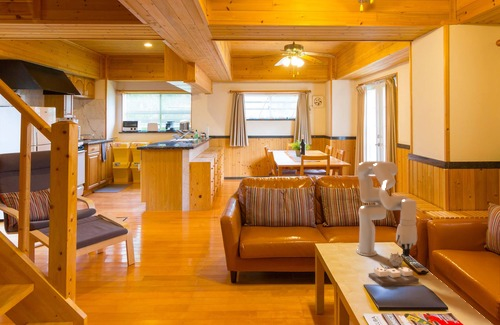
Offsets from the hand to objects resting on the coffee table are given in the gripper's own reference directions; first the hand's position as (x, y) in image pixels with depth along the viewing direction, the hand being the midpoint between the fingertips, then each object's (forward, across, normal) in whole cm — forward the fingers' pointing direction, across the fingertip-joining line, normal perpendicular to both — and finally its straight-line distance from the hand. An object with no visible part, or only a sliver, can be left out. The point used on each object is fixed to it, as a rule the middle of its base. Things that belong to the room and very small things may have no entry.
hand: (405, 255), depth 181 cm
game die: (+13, -6, -15) cm, 20 cm away
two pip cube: (+10, 0, 0) cm, 10 cm away
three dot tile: (+9, +15, 0) cm, 17 cm away
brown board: (+13, +8, 0) cm, 15 cm away
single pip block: (+10, +7, 0) cm, 13 cm away
